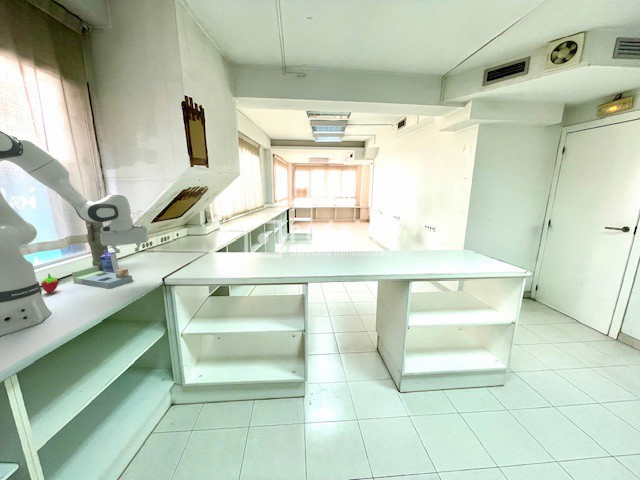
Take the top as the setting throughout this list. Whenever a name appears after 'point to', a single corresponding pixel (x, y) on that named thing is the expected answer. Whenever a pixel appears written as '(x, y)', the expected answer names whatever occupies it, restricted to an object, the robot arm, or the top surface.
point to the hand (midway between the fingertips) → (127, 252)
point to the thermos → (95, 242)
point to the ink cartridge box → (109, 262)
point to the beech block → (121, 273)
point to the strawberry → (49, 284)
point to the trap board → (99, 278)
